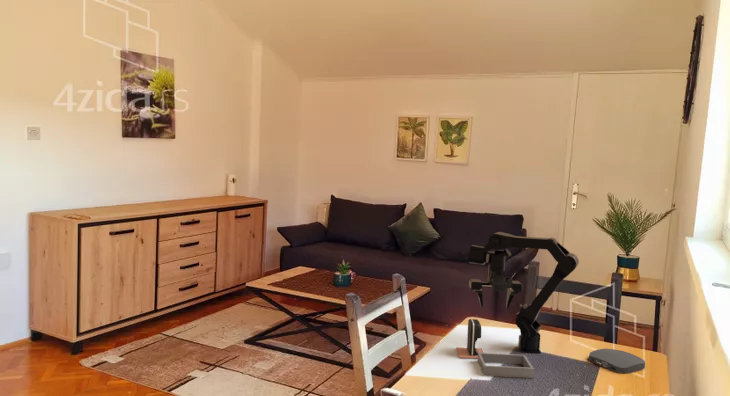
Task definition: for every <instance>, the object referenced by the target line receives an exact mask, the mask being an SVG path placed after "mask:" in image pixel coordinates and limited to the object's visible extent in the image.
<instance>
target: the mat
mask: <svg viewBox="0 0 730 396" xmlns="http://www.w3.org/2000/svg"><path fill="white" fill-rule="evenodd" d="M475 348H476V347H475ZM476 349H477V351H478V353H485V352H484V350H483V348H479V347H477V348H476ZM455 350H456V352H457V355H458V358H459V359H462V360H463V359H464V360H477V359H478V355H473V356H472V355H470V354H469V352H468V350H467V347H460V346H457V347H456V348H455Z"/></svg>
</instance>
